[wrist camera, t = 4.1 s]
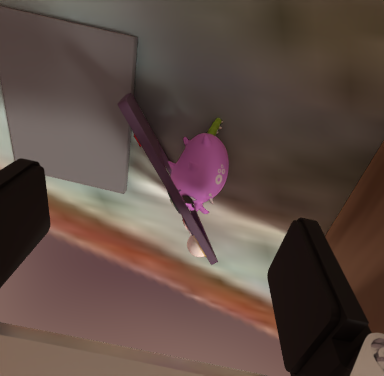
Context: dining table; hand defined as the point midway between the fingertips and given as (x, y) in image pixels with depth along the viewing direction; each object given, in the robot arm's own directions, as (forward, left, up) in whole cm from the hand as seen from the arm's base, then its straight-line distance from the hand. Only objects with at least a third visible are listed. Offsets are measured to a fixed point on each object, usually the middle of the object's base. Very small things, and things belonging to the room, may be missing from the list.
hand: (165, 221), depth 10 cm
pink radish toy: (0, 0, -9) cm, 9 cm away
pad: (+8, 0, -8) cm, 12 cm away
